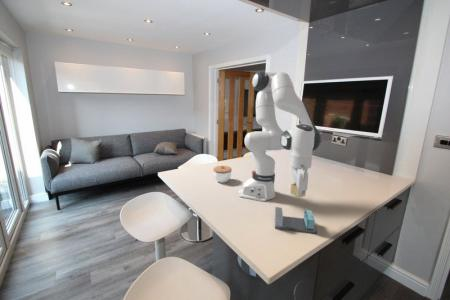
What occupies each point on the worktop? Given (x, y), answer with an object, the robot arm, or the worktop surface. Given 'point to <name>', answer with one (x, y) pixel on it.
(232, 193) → the worktop surface
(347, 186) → the worktop surface
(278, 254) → the worktop surface
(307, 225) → the block
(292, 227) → the press bed
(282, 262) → the worktop surface
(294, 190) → the tan short block
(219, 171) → the lidded bowl
